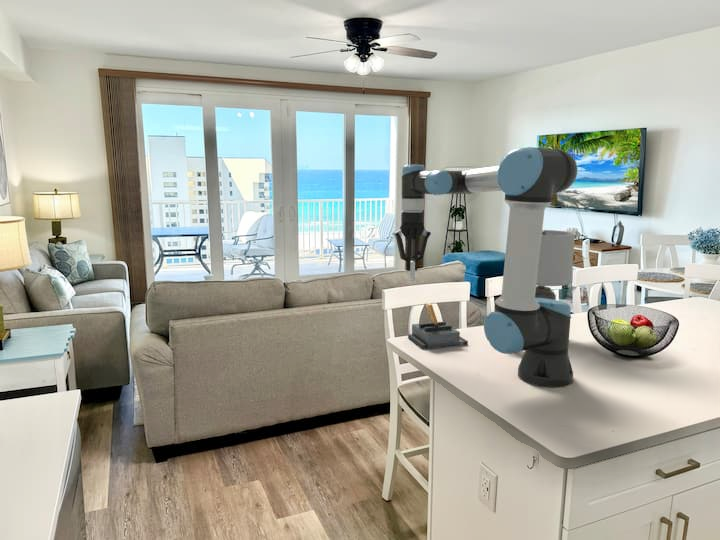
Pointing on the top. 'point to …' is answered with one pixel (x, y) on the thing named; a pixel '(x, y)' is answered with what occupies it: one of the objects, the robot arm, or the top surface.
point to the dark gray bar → (417, 341)
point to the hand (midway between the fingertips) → (411, 279)
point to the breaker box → (436, 335)
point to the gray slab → (463, 342)
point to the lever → (432, 314)
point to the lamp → (554, 262)
